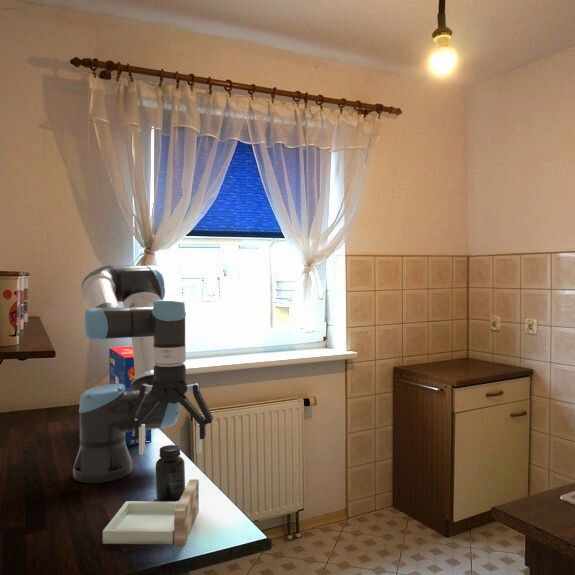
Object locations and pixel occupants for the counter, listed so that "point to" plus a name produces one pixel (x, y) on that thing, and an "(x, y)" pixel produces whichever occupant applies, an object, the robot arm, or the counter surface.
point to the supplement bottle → (170, 474)
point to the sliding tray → (142, 523)
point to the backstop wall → (186, 512)
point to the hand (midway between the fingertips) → (170, 452)
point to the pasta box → (124, 379)
